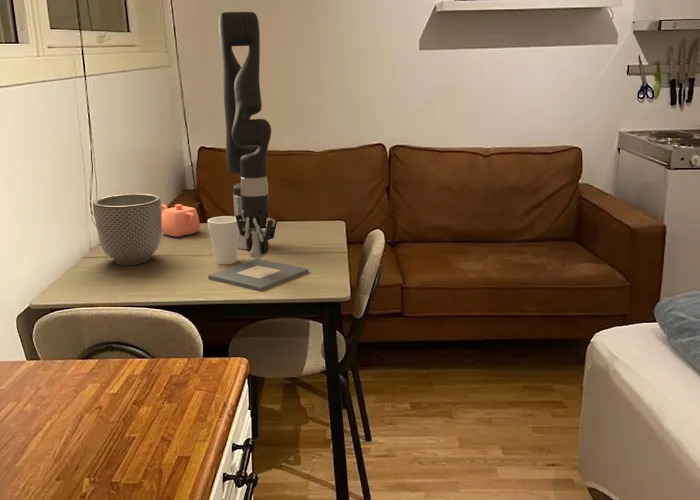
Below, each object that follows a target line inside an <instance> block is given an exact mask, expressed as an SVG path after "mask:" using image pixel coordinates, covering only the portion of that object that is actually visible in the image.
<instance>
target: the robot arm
mask: <svg viewBox="0 0 700 500" xmlns="http://www.w3.org/2000/svg"><path fill="white" fill-rule="evenodd" d="M218 33H219V43H220V53H221V60H222V61H221V62H222V74H223V75H222V76H223V77H222V80H223V84H222V85H223V86H222V87H223V90H222V91H223V107H224V115H225V128H226V129H225V130H226V131H225V132H226V133H225V138H226V139H225V141H226V143H225V159H226V160H225V161H226V162H225V163H226V167H227V170H228V172H229V173H230V174H240V182H238V183H236V184H234V185H233V186H232V196H233V197H232V198H233V199H232V200H233V212H234V215H233V217H236V221H237V225H238V228H239V239H238V249H240V250H247V252H249V253H250V250H251V248H252V243H253V239H252V234H251V231H252V229H254V230H255V229H256V231H257V234H259V237H260V240H261V241H260V253H261V254H268V252H269V240H273V239H274V238H275V233H276V229H277V223H278V221H277V219H276V218H274V219H273V218H271V217H270V216H269V212H268V210H269V208H270V201H269V198H270V197H269V184H268V182H269V181H268V176H267V154H268V149H269V144H270V140H271V136H272V126H271V124H270V122H269V121H268V120H267V119H265V118H252V116H254V115H257V114H259V113H260V112H261V110H262V108H263V107H262V97H261V95H262V94H261V85H260V59H261V58H260V56H261V54H260V53H261V50H260V49H261V47H260V45H261V44H260V43H261V42H260V41H261V40H260V39H261V38H260V36H261V35H260V34H261V33H260V23H259V19H258V15H257V14H256V13H255V12H253V11H225V12H222V13H220V15H219V19H218ZM232 47H248V53H247V55H246V58H245V59H244V60H245V61H244V62H243V64H242V66H241V65H240V63H239V61H238V59H237V58H236V56H235V54H234V51H233V48H232Z"/></svg>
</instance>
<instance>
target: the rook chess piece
mask: <svg viewBox="0 0 700 500" xmlns="http://www.w3.org/2000/svg"><path fill="white" fill-rule="evenodd" d="M251 234H252V239H253V243H252V248H251V250H250V252H249V253H250V254H249V257H250V258H252V259H263V258H265V256H266V254H267V253H266V254H261V253H260V241H261V240H260V237H259V234H257V231H256V229H255V230H254V229H252V231H251Z"/></svg>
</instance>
